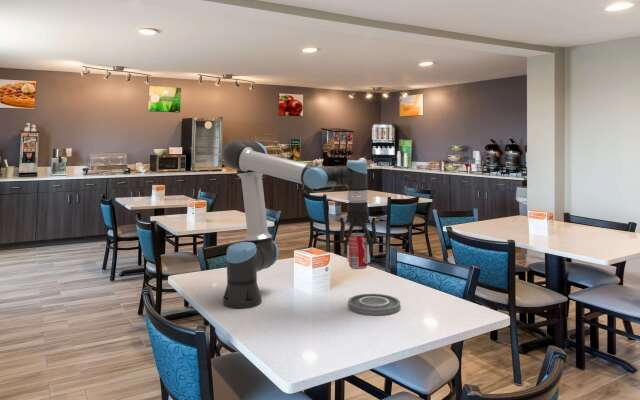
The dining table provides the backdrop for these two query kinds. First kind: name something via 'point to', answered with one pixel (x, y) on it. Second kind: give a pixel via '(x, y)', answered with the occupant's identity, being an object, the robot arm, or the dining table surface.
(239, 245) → the robot arm
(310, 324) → the dining table surface
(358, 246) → the soda can
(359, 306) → the tray
